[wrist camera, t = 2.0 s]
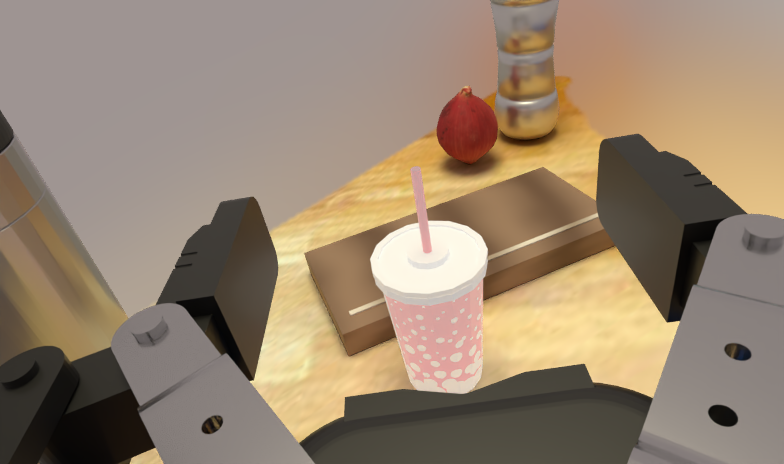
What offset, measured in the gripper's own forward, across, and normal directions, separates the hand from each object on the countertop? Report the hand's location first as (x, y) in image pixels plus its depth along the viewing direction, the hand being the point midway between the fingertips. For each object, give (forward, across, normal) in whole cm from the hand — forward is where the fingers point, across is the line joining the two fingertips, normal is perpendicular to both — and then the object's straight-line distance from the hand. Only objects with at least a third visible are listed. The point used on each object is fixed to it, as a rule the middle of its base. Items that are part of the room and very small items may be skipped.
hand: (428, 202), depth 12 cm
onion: (+37, -5, +19) cm, 42 cm away
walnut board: (+19, -4, +19) cm, 27 cm away
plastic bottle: (+41, -12, +19) cm, 47 cm away
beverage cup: (+11, 0, +19) cm, 22 cm away
